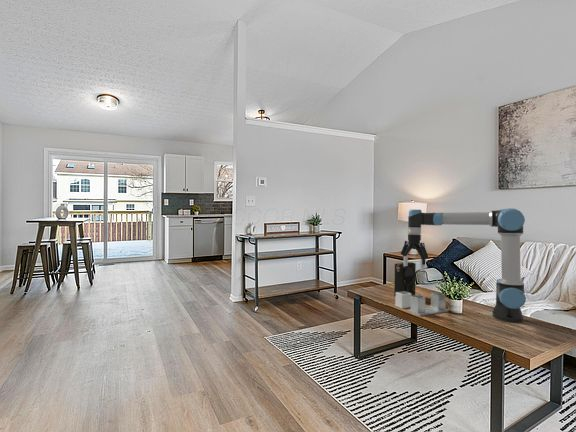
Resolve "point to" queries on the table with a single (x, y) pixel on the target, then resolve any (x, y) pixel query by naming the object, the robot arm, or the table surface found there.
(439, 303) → the grey stepped block
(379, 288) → the table surface
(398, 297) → the module
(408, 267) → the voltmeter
